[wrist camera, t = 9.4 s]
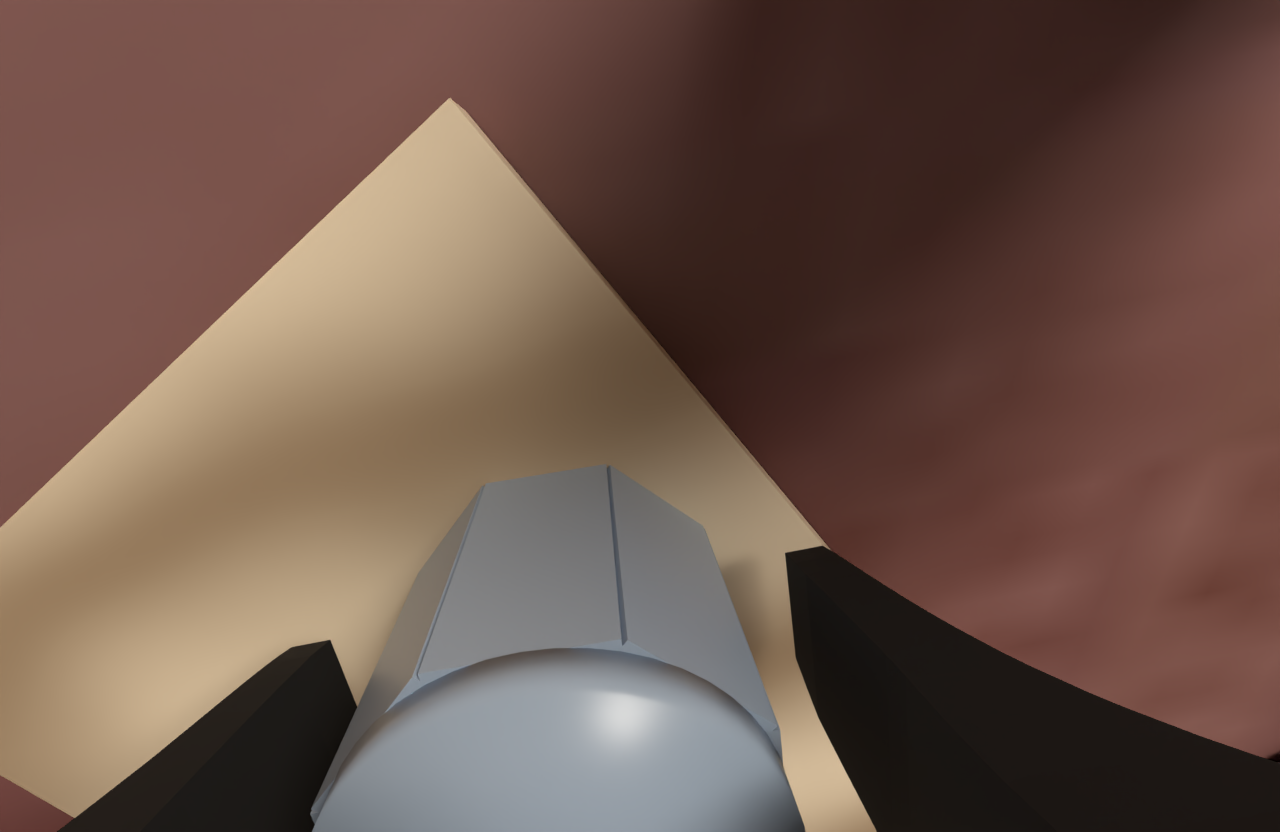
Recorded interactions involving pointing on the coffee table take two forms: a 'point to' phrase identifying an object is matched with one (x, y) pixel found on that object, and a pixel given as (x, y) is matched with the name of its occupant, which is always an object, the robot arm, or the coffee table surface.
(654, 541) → the cap
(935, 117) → the coffee table surface
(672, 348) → the coffee table surface
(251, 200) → the coffee table surface
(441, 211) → the board
